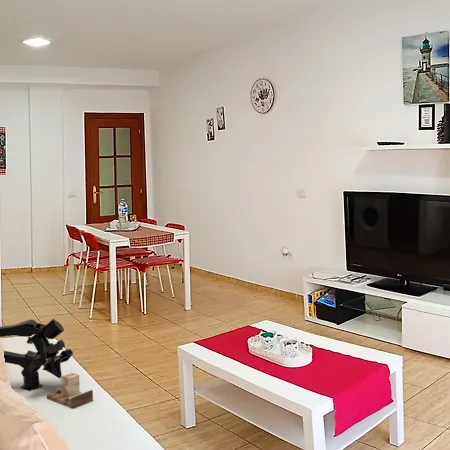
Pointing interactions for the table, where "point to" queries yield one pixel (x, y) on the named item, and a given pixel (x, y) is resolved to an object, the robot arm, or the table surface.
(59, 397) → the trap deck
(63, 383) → the birch block
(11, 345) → the table surface
